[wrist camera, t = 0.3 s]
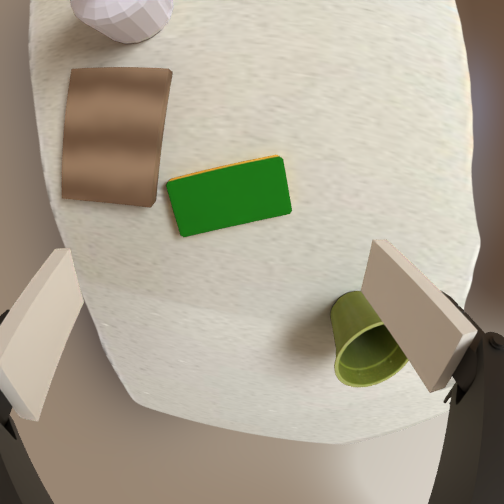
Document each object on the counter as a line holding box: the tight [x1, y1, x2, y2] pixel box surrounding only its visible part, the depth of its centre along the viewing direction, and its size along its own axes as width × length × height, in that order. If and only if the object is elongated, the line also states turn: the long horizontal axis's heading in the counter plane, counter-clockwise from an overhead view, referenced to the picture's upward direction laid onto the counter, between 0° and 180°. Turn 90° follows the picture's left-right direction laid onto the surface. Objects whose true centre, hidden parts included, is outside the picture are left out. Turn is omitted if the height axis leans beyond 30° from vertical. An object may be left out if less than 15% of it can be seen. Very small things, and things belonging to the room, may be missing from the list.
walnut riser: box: [62, 67, 173, 207], centre depth 32 cm, size 16×12×3 cm
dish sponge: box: [166, 155, 292, 237], centre depth 38 cm, size 7×14×2 cm, turn 101°
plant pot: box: [330, 291, 409, 387], centre depth 42 cm, size 12×12×11 cm
